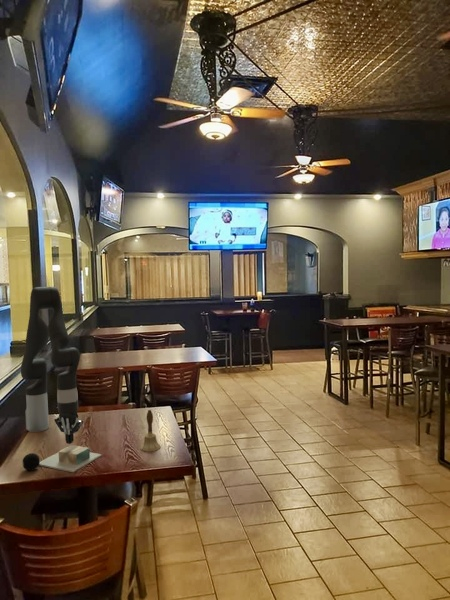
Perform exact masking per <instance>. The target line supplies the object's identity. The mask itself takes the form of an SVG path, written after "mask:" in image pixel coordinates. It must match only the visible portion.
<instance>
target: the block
mask: <svg viewBox="0 0 450 600" xmlns="http://www.w3.org/2000/svg"><path fill="white" fill-rule="evenodd" d="M58 452H59V462H64V463H69V464H75V465H78V464H80V463H82V462H84V461H85V460H87V459H89V458H90V452H91V451H90V447H86V446H79V445H73V444H69V446H67V447H64V448H62V449H60V450H59V451H58Z"/></svg>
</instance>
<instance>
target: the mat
mask: <svg viewBox="0 0 450 600" xmlns="http://www.w3.org/2000/svg"><path fill="white" fill-rule="evenodd" d="M89 452H90V458H89V459H87V460H85V461H84V462H82V463H80V464H78V465H75V464H69V463H64V462H59V451H58V452H57V453H54V454H53V455H50V456H47V458H44V459H43V460H41V461H40V463H39V466H38V467H44V468H49V469H54V470H59V471H65V472H69V473H70V472H71V473H74V472H76V471H78V470H80V469H81V468H83V467H85V466H86V465H88V464H91V462H93V461H95V460H97V459H99V458H100V457H102V454H100V453H96V452H91V451H89Z"/></svg>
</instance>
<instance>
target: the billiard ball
mask: <svg viewBox="0 0 450 600" xmlns="http://www.w3.org/2000/svg"><path fill="white" fill-rule="evenodd" d="M40 460H41V459H40V456H39V455H38V454H36V453H34V452H33V453H32V452H30V453H28V454H26V455H25V456H23V458H22V467H23V468H24V470H26V471H34V470H36V469H37V468H38V467H40V466H39V463H40Z"/></svg>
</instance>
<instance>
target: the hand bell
mask: <svg viewBox="0 0 450 600" xmlns="http://www.w3.org/2000/svg"><path fill="white" fill-rule="evenodd" d="M153 420H154V416H153V412H152V410H151V409H148V410H147V413H146V422H147V433H146V434H145V435H144V440H143V443H142V445H141V446H140V448H139V449H140V450H141V451H142V452H149V453H150V452H156V451H158V450H160V449H161V444H159V443H158V441H157V437H156V434H155V433H154V432H153Z"/></svg>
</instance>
